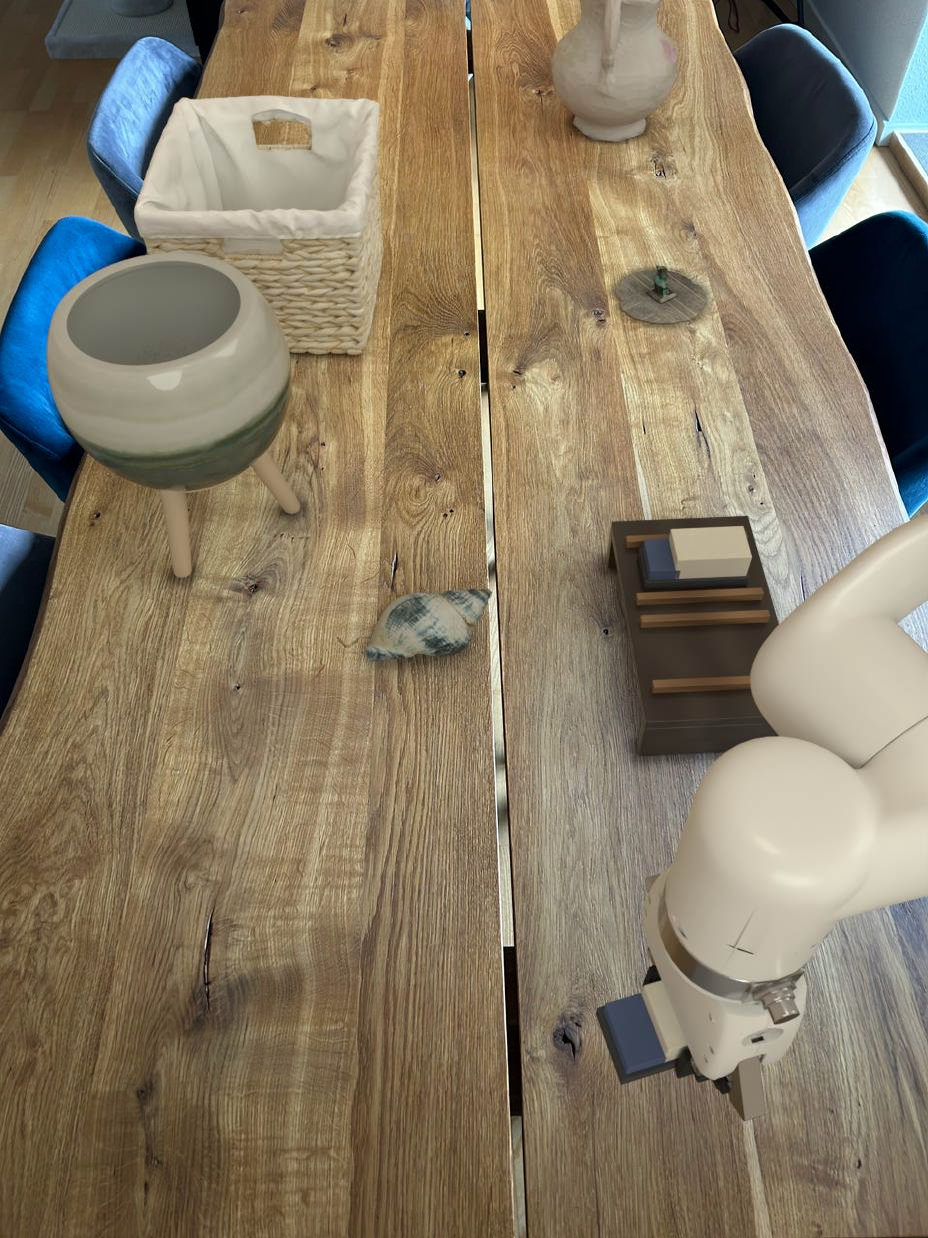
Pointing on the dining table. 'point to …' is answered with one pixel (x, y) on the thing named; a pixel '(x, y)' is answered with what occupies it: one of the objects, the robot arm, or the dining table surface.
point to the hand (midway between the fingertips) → (682, 1024)
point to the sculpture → (660, 296)
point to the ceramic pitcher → (614, 68)
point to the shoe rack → (693, 646)
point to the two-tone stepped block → (696, 559)
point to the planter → (173, 379)
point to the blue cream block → (642, 1033)
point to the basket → (277, 208)
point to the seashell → (427, 624)
